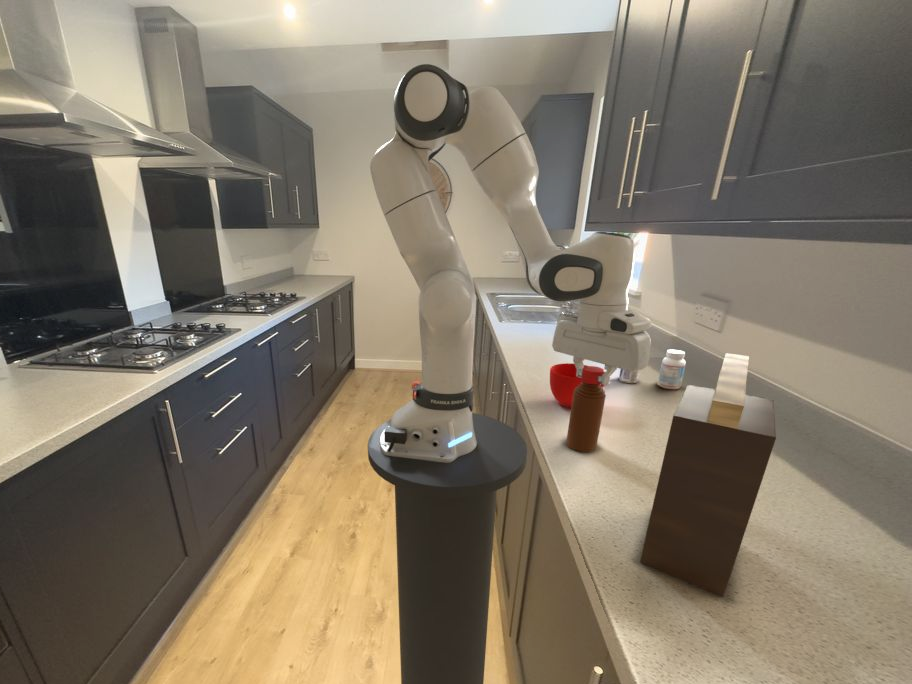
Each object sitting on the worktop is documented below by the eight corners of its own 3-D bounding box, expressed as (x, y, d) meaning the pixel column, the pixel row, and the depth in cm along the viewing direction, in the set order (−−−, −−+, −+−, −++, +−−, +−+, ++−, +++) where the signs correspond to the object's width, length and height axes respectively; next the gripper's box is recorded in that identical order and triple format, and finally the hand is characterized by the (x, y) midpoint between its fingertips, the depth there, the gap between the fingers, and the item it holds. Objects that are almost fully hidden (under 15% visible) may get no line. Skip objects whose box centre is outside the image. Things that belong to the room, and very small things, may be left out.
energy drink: (627, 377, 136) (634, 342, 132) (641, 382, 131) (648, 346, 127) (614, 379, 135) (620, 343, 130) (628, 384, 130) (634, 347, 126)
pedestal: (657, 514, 71) (687, 384, 63) (729, 539, 65) (773, 399, 57) (639, 562, 61) (673, 415, 53) (723, 596, 55) (776, 437, 47)
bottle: (571, 451, 91) (582, 376, 85) (562, 437, 97) (573, 366, 91) (600, 452, 91) (614, 376, 84) (590, 438, 97) (602, 366, 90)
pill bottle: (668, 382, 131) (676, 348, 127) (685, 388, 125) (693, 353, 121) (652, 384, 130) (659, 349, 126) (668, 390, 124) (676, 355, 120)
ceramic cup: (618, 409, 112) (625, 375, 109) (561, 414, 110) (565, 379, 106) (591, 392, 124) (595, 361, 121) (538, 396, 122) (541, 364, 118)
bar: (721, 370, 68) (725, 353, 67) (744, 373, 67) (749, 356, 66) (706, 422, 50) (712, 400, 49) (737, 429, 49) (744, 406, 48)
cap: (593, 386, 86) (595, 373, 85) (577, 380, 89) (578, 368, 88) (606, 382, 88) (608, 369, 87) (589, 376, 91) (591, 364, 90)
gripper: (549, 311, 90) (543, 370, 95) (641, 327, 74) (628, 397, 79) (568, 307, 93) (561, 365, 98) (660, 322, 77) (647, 391, 82)
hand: (592, 380), depth 88 cm, fingers closed on cap, 4 cm apart
